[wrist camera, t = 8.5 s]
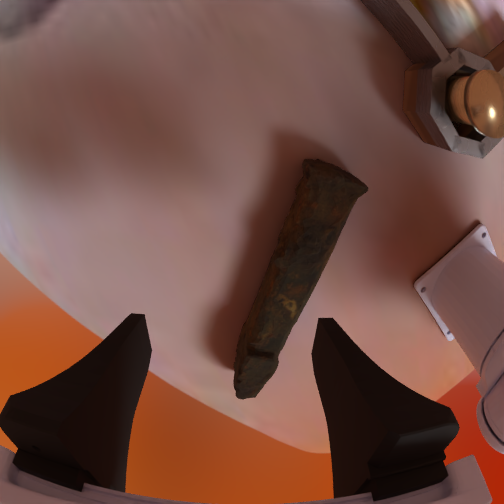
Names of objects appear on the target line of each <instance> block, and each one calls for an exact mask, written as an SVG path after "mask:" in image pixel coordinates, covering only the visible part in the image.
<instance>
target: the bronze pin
mask: <svg viewBox="0 0 504 504" xmlns="http://www.w3.org/2000/svg"><path fill="white" fill-rule="evenodd" d="M444 110H445V112H446V114H447V116H448V117H449V119H450V121H454V122H458V123H463V124H467V125H472V126H473V127H474V128H475V130H476V131H478V132H479V133H480V134H482V135H484V136H487V137H491V138H495V139H496V138H502V137H504V77H503V76H502V75H501V74H500V73H498V72H496V71H494V70H477V71H475V72H474V73H472V74H471V75H470V76H450V77H449V78H447V79H446V94H445V109H444Z"/></svg>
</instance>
